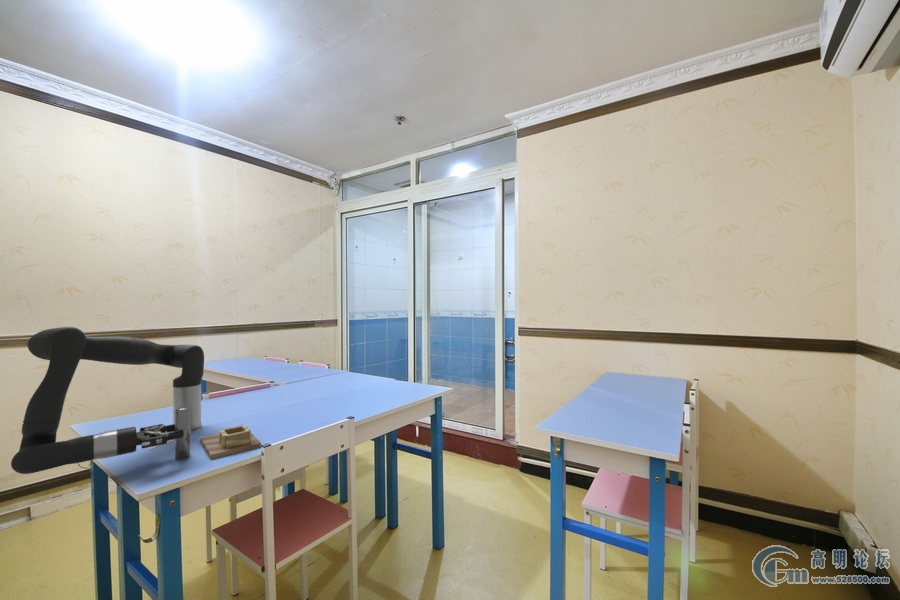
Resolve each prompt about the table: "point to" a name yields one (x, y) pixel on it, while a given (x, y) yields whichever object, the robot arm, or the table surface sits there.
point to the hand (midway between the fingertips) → (181, 429)
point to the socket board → (230, 441)
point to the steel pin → (184, 424)
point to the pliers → (166, 443)
